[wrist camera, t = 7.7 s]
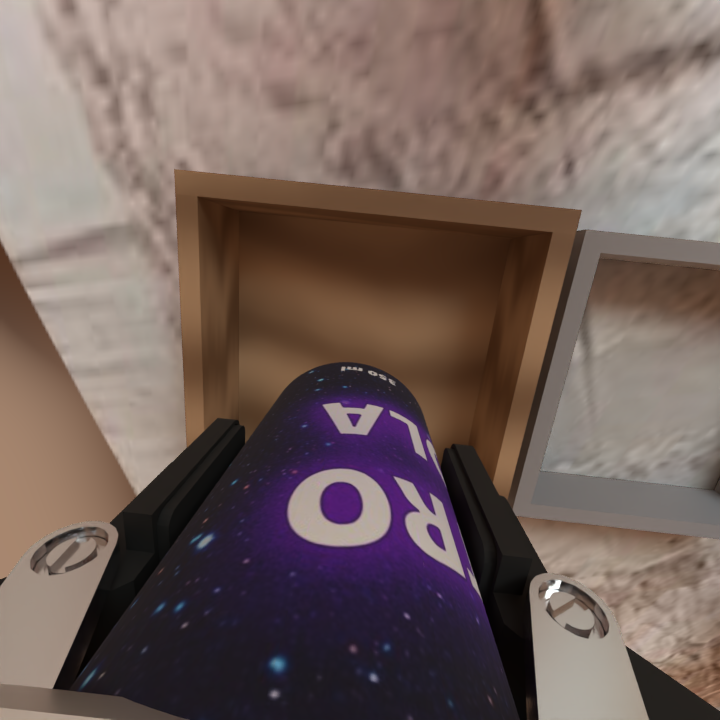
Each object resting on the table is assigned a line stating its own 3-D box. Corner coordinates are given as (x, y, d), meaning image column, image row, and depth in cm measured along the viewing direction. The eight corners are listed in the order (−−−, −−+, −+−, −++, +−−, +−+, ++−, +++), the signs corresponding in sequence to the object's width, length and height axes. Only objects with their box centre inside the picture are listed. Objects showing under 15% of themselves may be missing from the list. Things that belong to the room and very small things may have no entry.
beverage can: (416, 494, 14) (605, 1556, 3) (277, 484, 14) (-144, 1445, 3) (430, 359, 13) (1091, 1514, 1) (274, 350, 13) (-757, 1255, 1)
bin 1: (229, 194, 21) (174, 169, 15) (525, 223, 21) (581, 210, 15) (230, 454, 26) (189, 508, 20) (469, 481, 26) (496, 544, 20)
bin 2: (548, 235, 21) (586, 229, 17) (833, 264, 21) (937, 265, 17) (490, 477, 26) (510, 515, 22) (722, 503, 26) (783, 546, 22)
